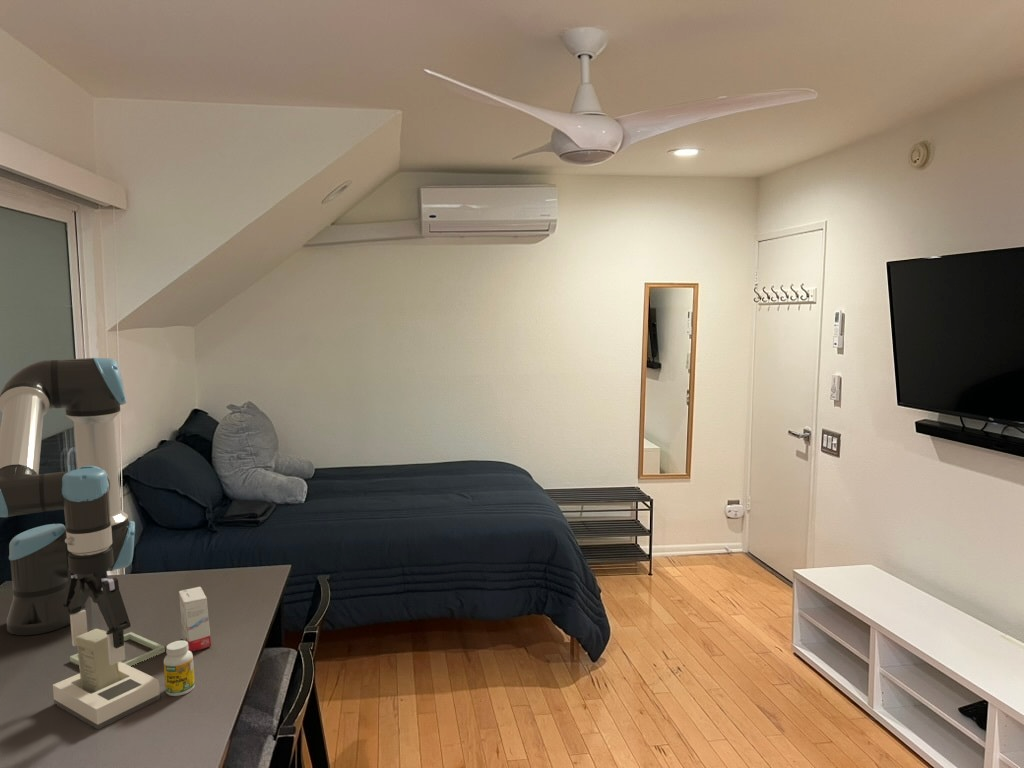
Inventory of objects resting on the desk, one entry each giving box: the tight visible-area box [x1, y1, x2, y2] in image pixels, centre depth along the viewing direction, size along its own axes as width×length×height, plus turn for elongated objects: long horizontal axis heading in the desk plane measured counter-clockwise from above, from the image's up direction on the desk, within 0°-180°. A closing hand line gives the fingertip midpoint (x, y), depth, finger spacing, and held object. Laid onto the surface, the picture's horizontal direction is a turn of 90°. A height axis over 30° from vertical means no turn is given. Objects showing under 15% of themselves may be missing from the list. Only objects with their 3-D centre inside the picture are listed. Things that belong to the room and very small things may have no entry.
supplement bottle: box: [163, 639, 196, 697], centre depth 144 cm, size 5×5×10 cm
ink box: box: [178, 586, 212, 653], centre depth 163 cm, size 9×5×12 cm, turn 33°
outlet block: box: [52, 661, 161, 731], centre depth 140 cm, size 16×12×4 cm
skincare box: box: [76, 627, 120, 694], centre depth 140 cm, size 6×4×12 cm
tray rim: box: [69, 631, 166, 667], centre depth 158 cm, size 14×14×1 cm
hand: (98, 652), depth 140 cm, fingers open, 13 cm apart
